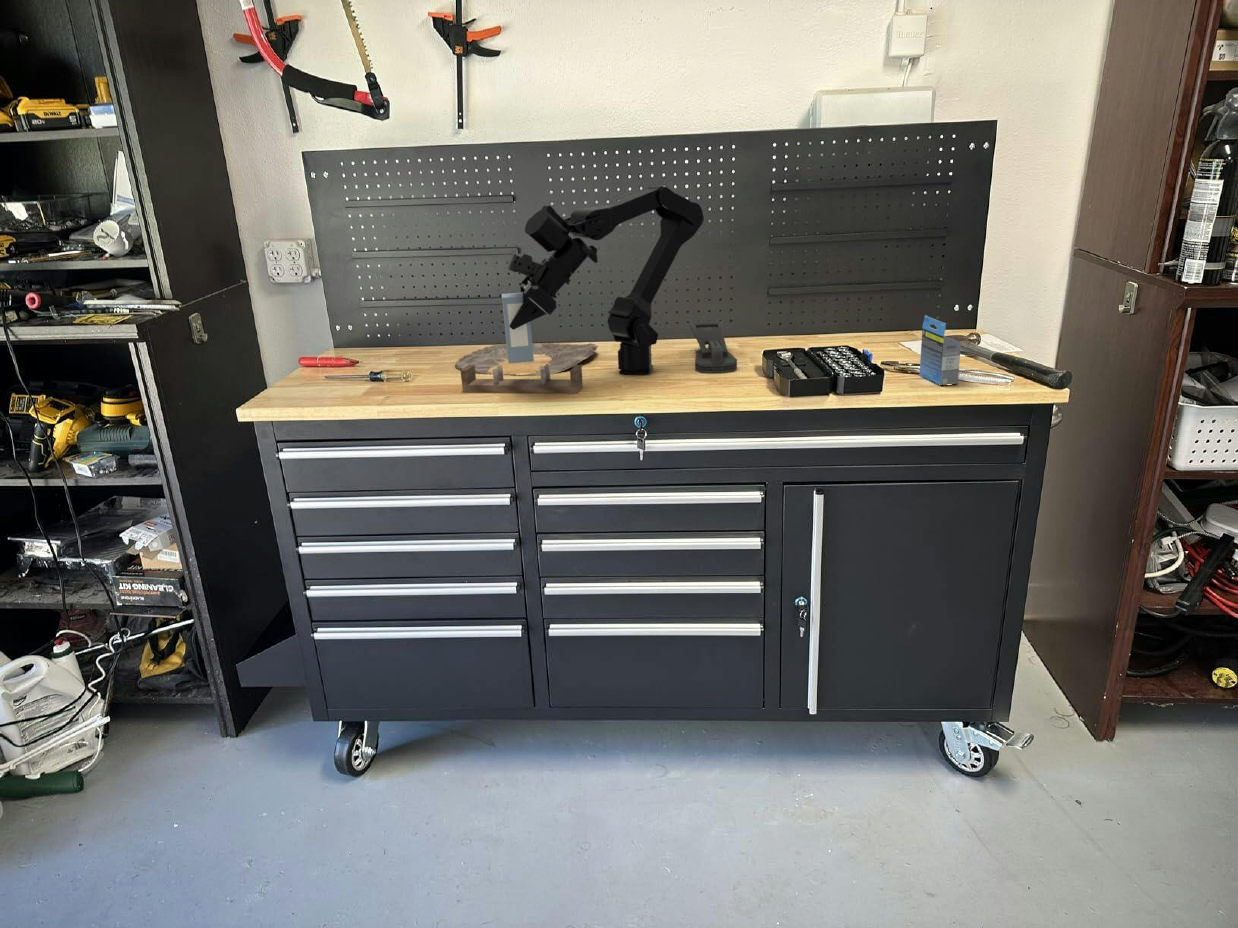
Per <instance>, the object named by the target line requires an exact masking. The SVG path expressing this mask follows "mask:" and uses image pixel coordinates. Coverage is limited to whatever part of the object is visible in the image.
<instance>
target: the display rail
mask: <svg viewBox="0 0 1238 928" xmlns="http://www.w3.org/2000/svg"><path fill="white" fill-rule="evenodd" d="M543 366H544V368H545V369H541V368H540V369H541V370H539V372H540V371H541V376H540V379H539V378H533V379H530V378H504V375H503V374H504V371H503V365H500V364H499V365H497V366H496V367H497V368H493V369H492V373H493V374H492V376H493V377H492V378H477V374H475V365H468V366H466V367H465V368H464V369H462V370H460V378H461V388H462V393H499V394H500V393H501V394H502V393H504V394H505V393H507V394H509V393H511V394H512V393H514V394H515V393H518V394H519V393H520V394H523V393H524V394H525V393H526V394H529V393H530V394H578V393H579V392H580V390H582V388H583V386H584V385H583V384H584V383H583V382H584V381H583V369H582V368H583V367H582V364H577V365H575V366H573V367H572V369H570V371H569V376H570V378H569V379H567V378H566V379H564V378H563V379H562V378H561V379H560V378H557V379H556V378H555V379H554V378H551V374H550V369H549V366H546V365H543Z"/></svg>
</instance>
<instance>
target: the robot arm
mask: <svg viewBox="0 0 1238 928" xmlns="http://www.w3.org/2000/svg"><path fill="white" fill-rule="evenodd" d="M651 211H653V212H654V213H655V215H656V216H658V217H659V218H660V219H661V220H660V223H659V227H660V232H659V233H660V236H659V238H658V240H657V241H656V243H655V246H654V247H653V249H652V250H651V251H652V252H651V253H650V255H649V257H648V259H647V261H646V263H645V264H644V267H643V268H642V270H641V271H640V274H639V277H638V279H637V280H636V281H635V284H634V286H633V288H632V289H631V292H630V293H629V294H628V295H627V296H625V297H622V296H617V297H616V298H615V300H614V302H613V305H612V307H611V308H610V310H608V312H607V313H608V314H609V316H608V319H607V324H608V329H609V332H610V333H611V335H612V337H613V339H614V342H616V343H620V344H619V349H618V351H617V364H618V370H619V372H618V373H619V375H650V374H651V371H652V370H653V368H654V364H653V363H652V345H653V346H654V345H656V344H657V342H658V338H659V333H658V332H657V331H656V330H655V329H654V328H653V327H652V326H651V325H650V322H651V319H652V303H653V301H654V299H655V297H656V295H657V293H658V291H659V290H660V288H661V286H662V284H663V282H664V280H665V278H666V277H667V275H668V273H669V270H670V268H671V267H672V264H673V263H674V261H675V260H676V257H677V255H678V253H679V251H680V249H681V247H682V246H684V244H685V243H687V242H688V241H690V240H691V238H694V236H695V234H696V233H698V231H699V229H700V228H701V227H702V225H703V222H704V219H705V216H704V212H703V208H702V207H701V205H700V204H698V203H697V202H694V201H693V202H692V201H691V200H690V199H687V198H686V197H684V196H681V195H680V194H678V193H675V192H674V191H673V190H672V189H670V188H669V187H667V186H665V185H651V186H648V187H647V188H646V189H644V190H640V191H638V192H636V193H634V194H631V195H628V196H627V197H626V196H625V197H623V198H622V199H619V200H617V201H613V202H611V203H609V204H607V205H601V206H599V205H598V206H590V207H584V208H578V209H575V210H574V211H572V212H571V213H570V216H569V217H567V218H563V217H562V216H560V214H558V213H557V211H556V210H555V208H554V207H552V206H551V205H543V206H542V208H541V209H540V210H538V211H537V212H536V213H534V214H533V215H532V216H531V217H530V218H528V220H527V222H526V223H525V227H524V233H525V234H526V235H527V236H528V237H530V239H532V240H533V241H534V243H536V244H537V245H539V246H540V247H541V248H542V249H543V250H544V251H546V252H547V253H550V252H552V253H551V254H550V255H549V257H548V258H547V257H546V258H543V259H542V260H541V262H540V261H537V260H535V259H533V257H532V255H529V254H526V253H525V252H523V254H520V253H518V252H514V251H513V252H512V254H511V257H510V260H509V263H508V266H507V268H508V270H509V271H511V272H513V273H519V274H521V275H523V277H521V279H520V280H519V281H520V283H521V284H522V285H521V284H520V285H519V293H522V298H523V303H522V305H521V307H520V308H519V310H518V312H517V313H516V315H515V317H514V318H513V320H512V322H511V324H510V325H509V326H510V328H511V329H513V330H514V329H516V328H518V327H520V326H522V325H524V324H526V323H528V322H532V321H534V320H536V319H539V318H541V317H543V316H547V314H548V315H549V316H551V315H552V314H553V312H554V311H555V310H556V309H557V300H556V299H557V297H558V296H557V294H558V293H559V292H560V290H562V288H564V286H565V285H568V284H570V282H571V278H572V276H573V275H574V274H576V272H577V270H578V269H580V267H581V266H582V265H583V263H584V262H585V261H586V260H587V259H590V260H591V261H592V262H593V263H594V264H597V263H598V262H599V261H598V255H597V254H598V248H597V247H596V246H595V245H588V244H587V243H586V242H585V241H584V240H587V241H588V240H589V241H600V240H602V239H604V238H605V237H607V236H608V235H610V234H611V233H612V232H614V231H615V229H616V227H617V226H619V225H621V224H622V223H625V222H627V221H630V220H632V219H634V218H636V217H640V216H641V215H643V214H647V213H648V212H651ZM570 234H571V235H572V236H573V237H574V238H572V237H571V235H570ZM523 285H524V286H523ZM524 292H525V293H524Z"/></svg>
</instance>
